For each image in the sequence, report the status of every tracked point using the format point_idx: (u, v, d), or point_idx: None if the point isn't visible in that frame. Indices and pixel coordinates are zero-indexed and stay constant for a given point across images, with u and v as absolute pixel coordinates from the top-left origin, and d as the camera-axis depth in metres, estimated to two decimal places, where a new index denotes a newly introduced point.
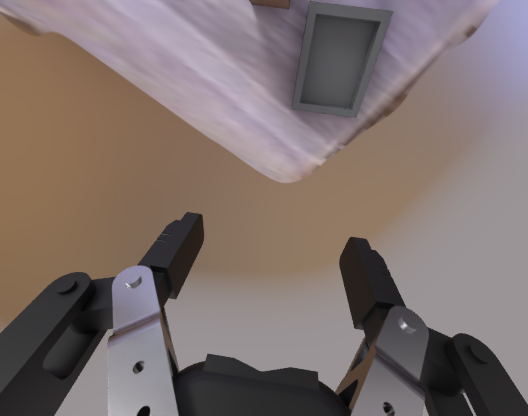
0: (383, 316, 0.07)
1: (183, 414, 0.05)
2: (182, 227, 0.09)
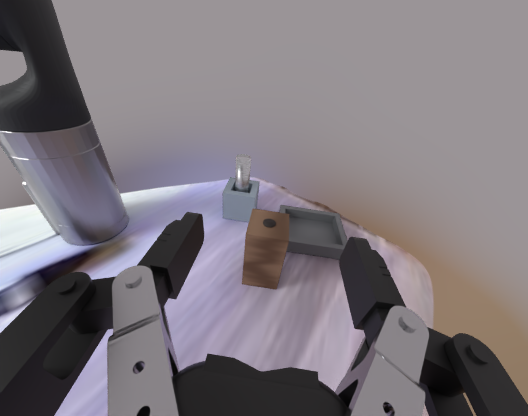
0: (383, 316, 0.07)
1: (183, 414, 0.05)
2: (182, 227, 0.09)
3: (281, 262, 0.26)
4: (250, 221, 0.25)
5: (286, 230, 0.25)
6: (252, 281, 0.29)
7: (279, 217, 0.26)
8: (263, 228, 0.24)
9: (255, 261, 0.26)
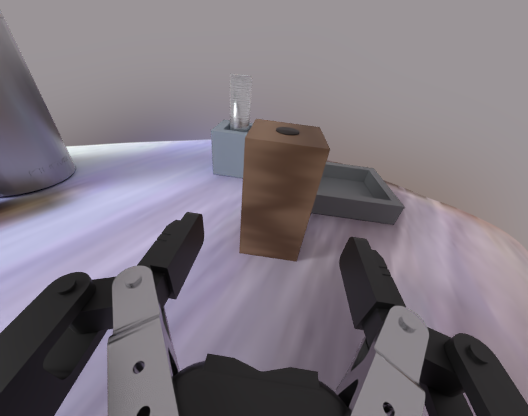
0: (383, 316, 0.07)
1: (183, 414, 0.05)
2: (182, 227, 0.09)
3: (310, 204, 0.14)
4: (253, 127, 0.14)
5: (320, 139, 0.13)
6: (256, 248, 0.17)
7: (304, 128, 0.15)
8: (278, 135, 0.13)
9: (262, 204, 0.15)
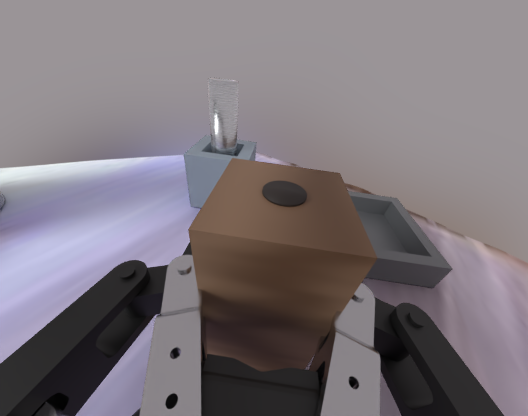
0: None
1: None
2: None
3: (325, 327, 0.08)
4: (219, 187, 0.07)
5: (349, 217, 0.07)
6: None
7: (314, 179, 0.08)
8: (264, 210, 0.06)
9: (239, 320, 0.08)
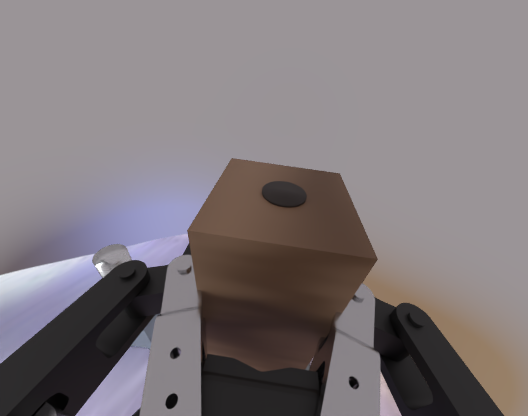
0: None
1: None
2: None
3: (325, 328, 0.08)
4: (218, 187, 0.07)
5: (349, 218, 0.07)
6: None
7: (313, 180, 0.08)
8: (264, 210, 0.06)
9: (238, 321, 0.08)
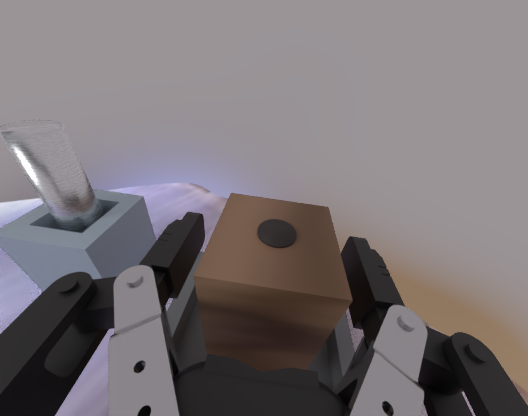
0: (382, 315, 0.07)
1: (183, 414, 0.05)
2: (183, 227, 0.09)
3: (313, 350, 0.09)
4: (219, 228, 0.08)
5: (332, 258, 0.08)
6: None
7: (304, 216, 0.09)
8: (259, 252, 0.07)
9: (237, 343, 0.09)
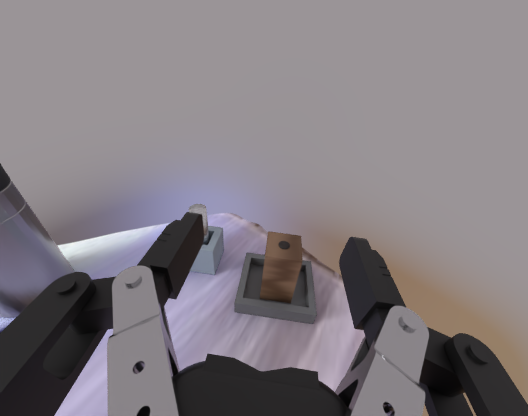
0: (383, 316, 0.07)
1: (183, 414, 0.05)
2: (182, 227, 0.09)
3: (295, 279, 0.29)
4: (267, 244, 0.29)
5: (299, 252, 0.28)
6: (268, 296, 0.32)
7: (292, 239, 0.30)
8: (279, 250, 0.28)
9: (272, 279, 0.30)
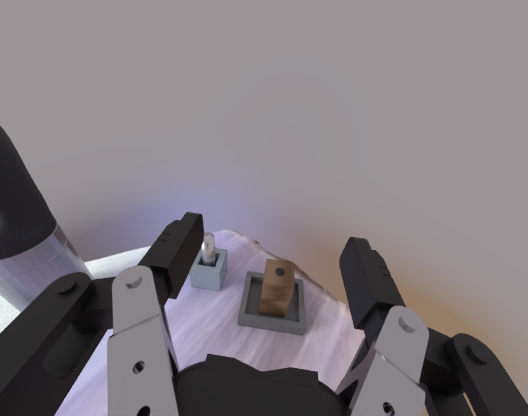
0: (383, 316, 0.07)
1: (183, 414, 0.05)
2: (182, 227, 0.09)
3: (288, 300, 0.35)
4: (266, 271, 0.35)
5: (292, 278, 0.34)
6: (266, 312, 0.38)
7: (287, 266, 0.36)
8: (276, 277, 0.34)
9: (269, 299, 0.36)
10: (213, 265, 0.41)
